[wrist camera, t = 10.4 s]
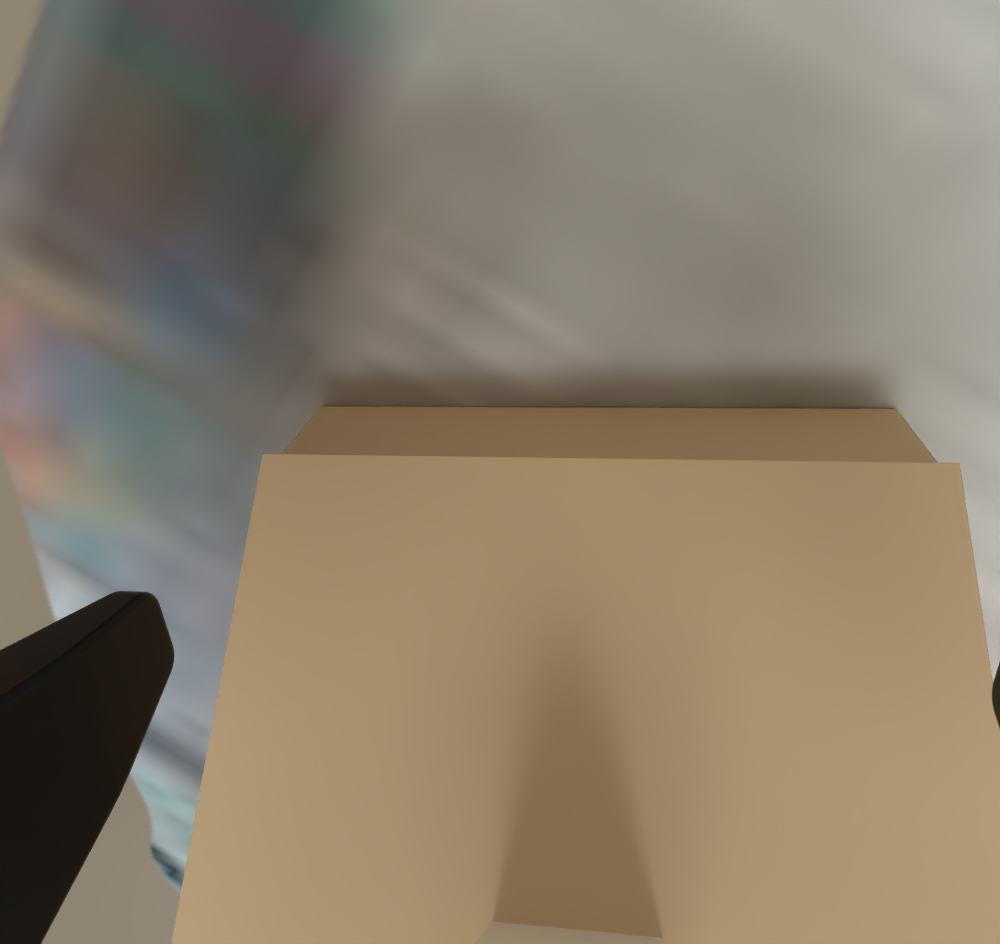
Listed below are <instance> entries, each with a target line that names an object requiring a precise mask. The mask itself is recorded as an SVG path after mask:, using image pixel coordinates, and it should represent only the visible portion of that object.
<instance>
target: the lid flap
mask: <svg viewBox="0 0 1000 944" xmlns="http://www.w3.org/2000/svg"><path fill="white" fill-rule="evenodd" d="M992 686H993V681H992V674H991V668H990V661H989V655H988V648H987V642H986V635H985V628H984V622H983V615H982V609H981V602H980V595H979V589H978V582H977V576H976V569H975V562H974V556H973V549H972V543H971V536H970V530H969V523H968V516H967V510H966V503H965V497H964V490H963V483H962V477H961V470H960V464H959V463H903V462H827V461H752V460H676V459H600V458H525V457H449V456H373V455H297V454H263V455H262V460H261V465H260V471H259V476H258V481H257V487H256V492H255V498H254V503H253V508H252V514H251V519H250V524H249V530H248V535H247V541H246V546H245V551H244V557H243V562H242V567H241V573H240V578H239V583H238V589H237V594H236V600H235V605H234V610H233V616H232V621H231V626H230V632H229V637H228V643H227V648H226V653H225V659H224V664H223V669H222V675H221V680H220V685H219V691H218V696H217V702H216V707H215V712H214V718H213V723H212V728H211V734H210V739H209V745H208V750H207V755H206V761H205V766H204V771H203V777H202V782H201V788H200V793H199V798H198V804H197V809H196V814H195V820H194V825H193V830H192V836H191V841H190V847H189V852H188V857H187V863H186V868H185V873H184V879H183V884H182V890H181V895H180V900H179V906H178V911H177V916H176V922H175V927H174V933H173V938H172V943H171V944H1000V728H999V725H998V722H997V719H996V716H995V713H994V709H993V704H992Z"/></svg>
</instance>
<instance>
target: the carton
mask: <svg viewBox="0 0 1000 944" xmlns="http://www.w3.org/2000/svg"><path fill="white" fill-rule="evenodd" d="M283 454H297V455H373V456H449V457H525V458H600V459H676V460H752V461H827V462H903V463H938V462H937V461H936V460H935V459H934V457H933V456H932V455H931V453H930V452H929V451H928V449H927V448H926V447H925V445H924V444H923V443H922V442H921V440H920V439H919V438H918V436H917V435H916V434H915V432H914V431H913V430H912V428H911V427H910V426H909V425H908V423H907V422H906V421H905V419H904V418H903V417H902V415H901V414H900V413H899V411H898V410H897V409H824V408H588V407H353V406H322V407H321V408H320V409H319V410H318V411H317V413H316V414H315V415H314V416H313V418H312V419H311V420H310V421H309V422H308V424H307V425H306V426H305V427H304V428H303V430H302V431H301V432H300V433H299V434H298V436H297V437H296V438H295V439H294V440H293V442H292V443H291V444H290V445H289V446H288V448H287V449H286V450H285V451H284V453H283Z"/></svg>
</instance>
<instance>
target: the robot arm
mask: <svg viewBox="0 0 1000 944" xmlns="http://www.w3.org/2000/svg"><path fill="white" fill-rule="evenodd" d="M173 662H174V649H173V645H172V642H171V638H170V635H169V632H168V629H167V626H166V623H165V620H164V617H163V614H162V611H161V607H160V604H159V602H158V600H157V599H156V597H155V596H154V595H153V594H151V593H148V592H134V591H118V592H114V593H111V594H109V595H107V596H105V597H103V598H101V599H99V600H97V601H95V602H94V603H92V604H90V605H88V606H86V607H84V608H82V609H80V610H78V611H76V612H74V613H72V614H70V615H68V616H66V617H64V618H62V619H60V620H58V621H56V622H54V623H52V624H50V625H49V626H47V627H45V628H43V629H41V630H39V631H37V632H35V633H33V634H31V635H29V636H27V637H25V638H23V639H21V640H19V641H17V642H16V643H13V644H12V645H9V646H7V647H6V648H4V649H2V650H0V944H41V943H42V941H43V939H44V937H45V936H46V934H47V932H48V930H49V928H50V926H51V924H52V923H53V921H54V919H55V917H56V915H57V913H58V911H59V909H60V907H61V906H62V904H63V902H64V900H65V898H66V896H67V894H68V892H69V890H70V889H71V887H72V885H73V883H74V881H75V879H76V877H77V875H78V873H79V872H80V870H81V868H82V866H83V864H84V862H85V860H86V858H87V857H88V855H89V853H90V851H91V849H92V847H93V845H94V843H95V841H96V840H97V838H98V836H99V834H100V832H101V830H102V828H103V826H104V824H105V823H106V821H107V819H108V817H109V815H110V813H111V811H112V809H113V807H114V805H115V803H116V801H117V799H118V797H119V795H120V793H121V791H122V789H123V787H124V784H125V782H126V780H127V778H128V776H129V773H130V771H131V769H132V766H133V764H134V761H135V759H136V756H137V754H138V752H139V749H140V747H141V744H142V742H143V739H144V737H145V734H146V732H147V730H148V727H149V725H150V722H151V720H152V717H153V715H154V712H155V710H156V707H157V705H158V703H159V700H160V698H161V695H162V693H163V690H164V688H165V685H166V683H167V681H168V678H169V676H170V673H171V670H172V667H173ZM992 704H993V709H994V713H995V716H996V719H997V722H998V725H999V728H1000V663H999V666H998V669H997V673H996V676H995V679H994V682H993V686H992Z"/></svg>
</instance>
